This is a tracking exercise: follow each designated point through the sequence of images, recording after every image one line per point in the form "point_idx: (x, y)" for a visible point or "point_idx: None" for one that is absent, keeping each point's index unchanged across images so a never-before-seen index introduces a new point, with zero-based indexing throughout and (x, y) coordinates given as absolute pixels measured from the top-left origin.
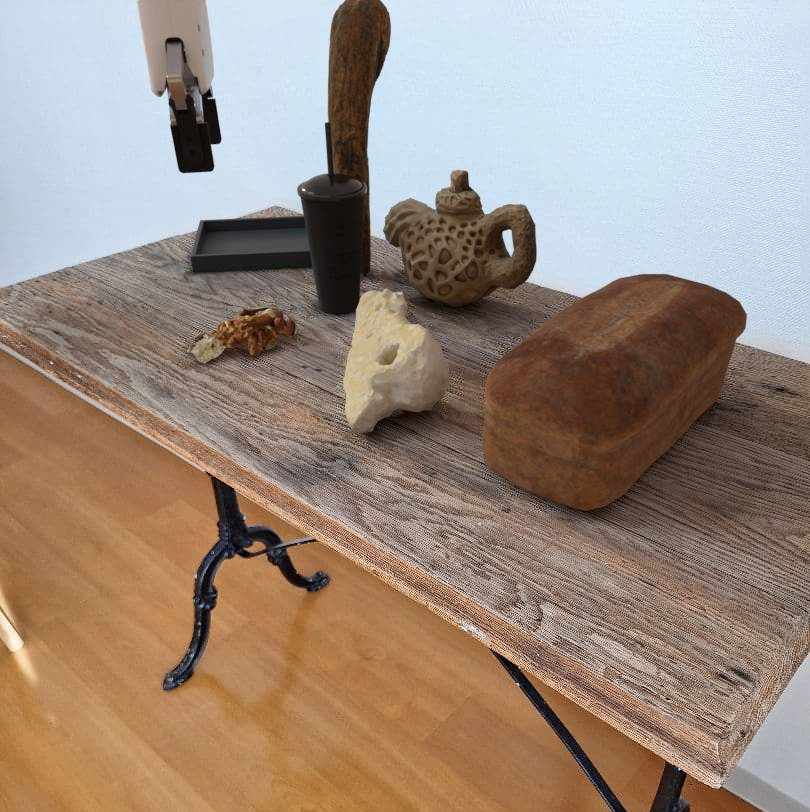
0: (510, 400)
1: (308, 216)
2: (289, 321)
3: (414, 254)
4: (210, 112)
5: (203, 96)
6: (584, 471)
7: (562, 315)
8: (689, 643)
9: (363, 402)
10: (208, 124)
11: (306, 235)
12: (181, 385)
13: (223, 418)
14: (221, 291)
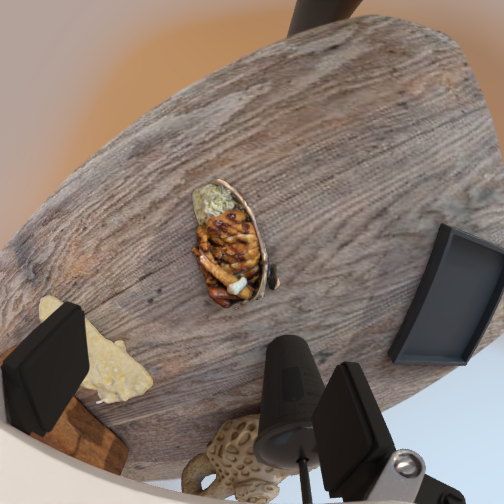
0: None
1: (286, 405)
2: (222, 303)
3: (249, 438)
4: (327, 465)
5: (345, 492)
6: None
7: (32, 435)
8: None
9: (41, 313)
10: (325, 436)
11: (451, 346)
12: (152, 166)
13: (86, 202)
14: (382, 244)
